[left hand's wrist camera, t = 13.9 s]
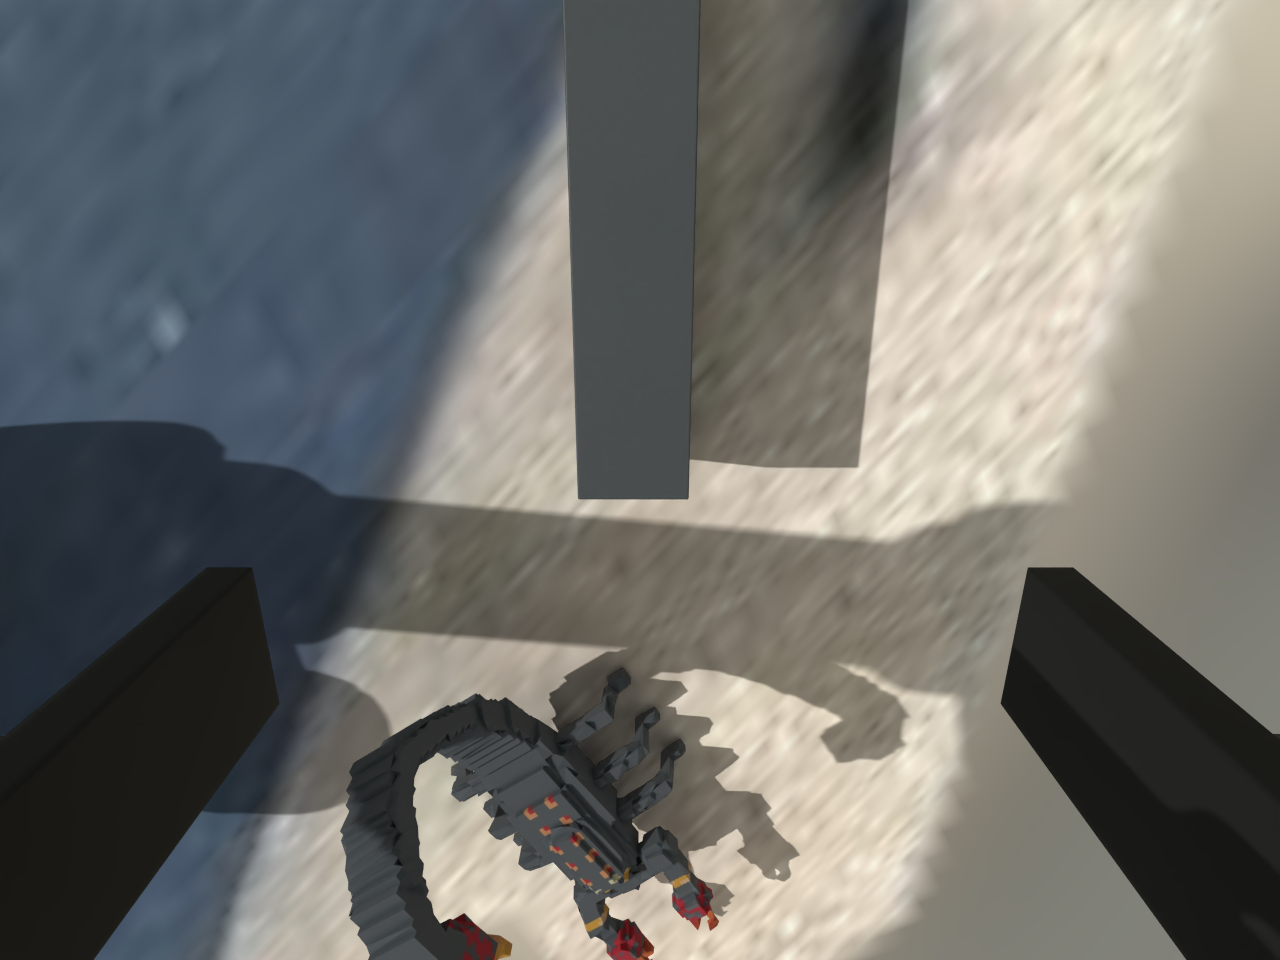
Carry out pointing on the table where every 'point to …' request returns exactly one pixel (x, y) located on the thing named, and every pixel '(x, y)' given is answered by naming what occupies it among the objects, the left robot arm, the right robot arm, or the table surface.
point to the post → (632, 240)
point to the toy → (512, 825)
